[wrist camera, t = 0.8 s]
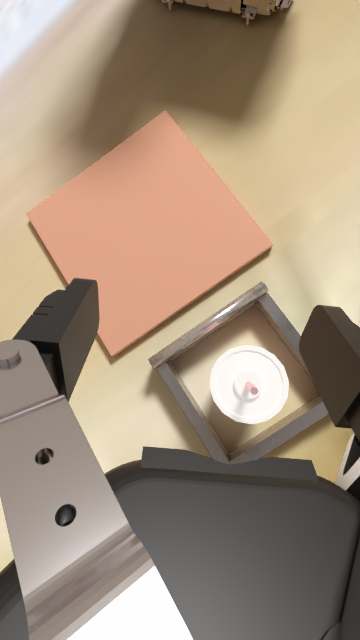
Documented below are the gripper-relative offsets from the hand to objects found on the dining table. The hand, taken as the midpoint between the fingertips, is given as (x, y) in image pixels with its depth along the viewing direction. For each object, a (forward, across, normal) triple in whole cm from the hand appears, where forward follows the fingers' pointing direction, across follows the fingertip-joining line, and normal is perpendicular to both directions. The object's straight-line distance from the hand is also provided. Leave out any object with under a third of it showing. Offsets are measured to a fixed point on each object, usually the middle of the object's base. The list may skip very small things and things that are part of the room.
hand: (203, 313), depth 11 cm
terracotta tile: (+26, +5, +6) cm, 28 cm away
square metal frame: (+13, -8, +16) cm, 23 cm away
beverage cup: (+14, -8, +16) cm, 23 cm away
